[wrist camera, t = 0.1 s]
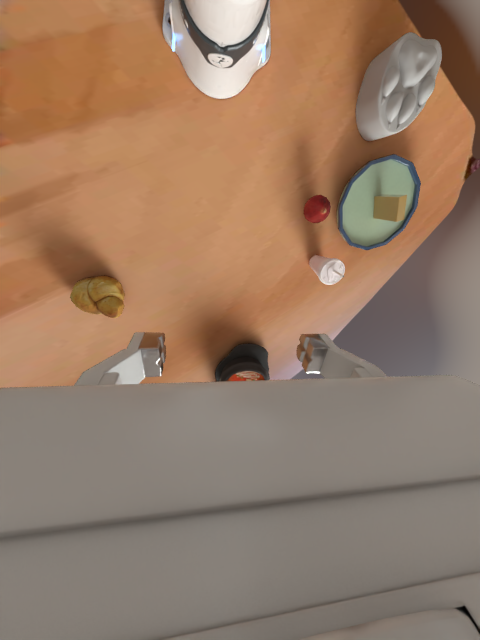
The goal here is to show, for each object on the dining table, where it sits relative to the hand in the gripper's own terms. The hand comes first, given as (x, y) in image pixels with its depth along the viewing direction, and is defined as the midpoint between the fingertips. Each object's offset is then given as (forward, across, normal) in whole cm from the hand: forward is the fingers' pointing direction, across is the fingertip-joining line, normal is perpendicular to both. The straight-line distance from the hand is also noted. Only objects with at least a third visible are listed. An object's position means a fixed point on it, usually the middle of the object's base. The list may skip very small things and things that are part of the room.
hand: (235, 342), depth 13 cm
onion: (+48, -24, -7) cm, 54 cm away
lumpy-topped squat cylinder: (+48, -34, -28) cm, 65 cm away
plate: (+46, -40, -9) cm, 62 cm away
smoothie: (+48, -29, +6) cm, 57 cm away
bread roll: (+48, +28, +17) cm, 58 cm away
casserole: (+48, -12, +45) cm, 67 cm away
